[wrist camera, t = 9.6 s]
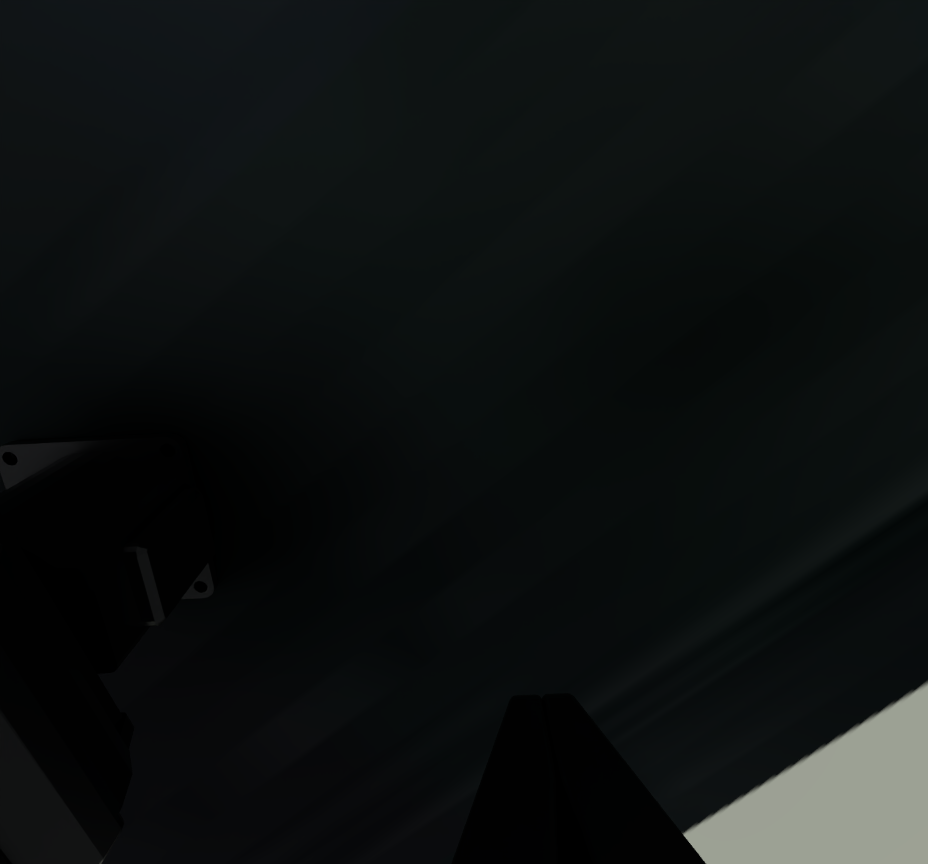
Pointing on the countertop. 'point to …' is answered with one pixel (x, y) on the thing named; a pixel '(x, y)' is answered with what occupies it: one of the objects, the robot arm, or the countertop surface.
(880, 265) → the countertop surface
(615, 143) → the countertop surface
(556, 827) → the robot arm
